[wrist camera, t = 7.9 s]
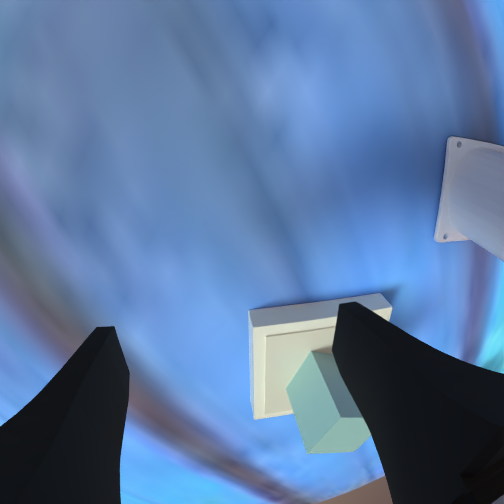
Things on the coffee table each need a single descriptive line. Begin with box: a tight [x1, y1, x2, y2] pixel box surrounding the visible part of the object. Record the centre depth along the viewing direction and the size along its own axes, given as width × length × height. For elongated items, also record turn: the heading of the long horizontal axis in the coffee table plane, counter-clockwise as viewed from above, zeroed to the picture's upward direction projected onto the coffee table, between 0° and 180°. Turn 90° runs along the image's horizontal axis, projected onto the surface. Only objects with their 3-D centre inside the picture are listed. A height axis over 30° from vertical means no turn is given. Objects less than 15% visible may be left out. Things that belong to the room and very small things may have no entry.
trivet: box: [248, 293, 393, 419], centre depth 24 cm, size 10×10×3 cm
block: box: [286, 351, 371, 454], centre depth 20 cm, size 4×4×6 cm
